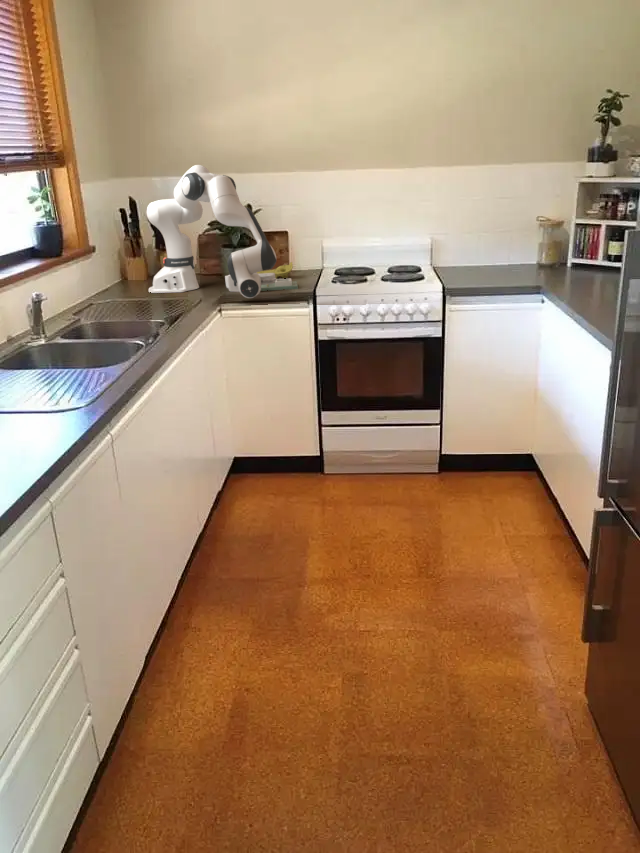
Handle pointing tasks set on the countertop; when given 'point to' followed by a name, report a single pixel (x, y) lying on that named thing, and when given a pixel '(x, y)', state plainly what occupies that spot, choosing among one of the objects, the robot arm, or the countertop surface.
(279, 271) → the plastic component
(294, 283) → the board
